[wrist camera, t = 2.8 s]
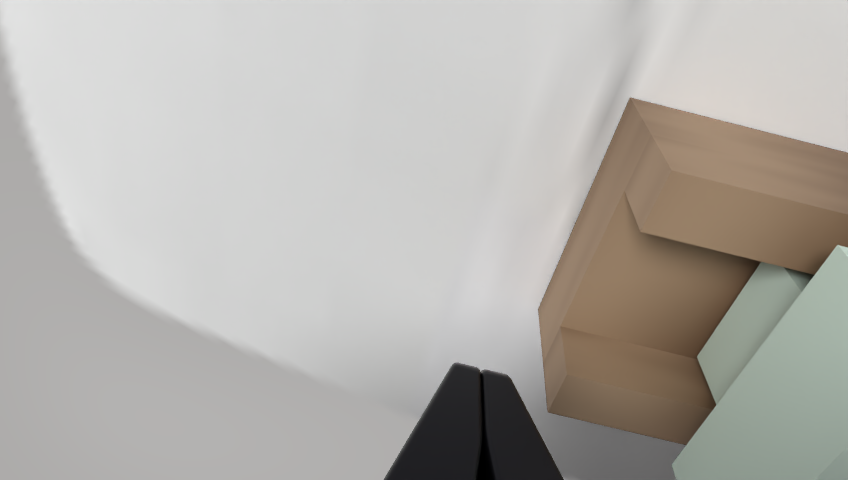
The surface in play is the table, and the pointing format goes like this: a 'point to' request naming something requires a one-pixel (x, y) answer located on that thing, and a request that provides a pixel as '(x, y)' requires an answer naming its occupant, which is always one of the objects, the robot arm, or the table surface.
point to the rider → (777, 380)
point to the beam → (676, 261)
